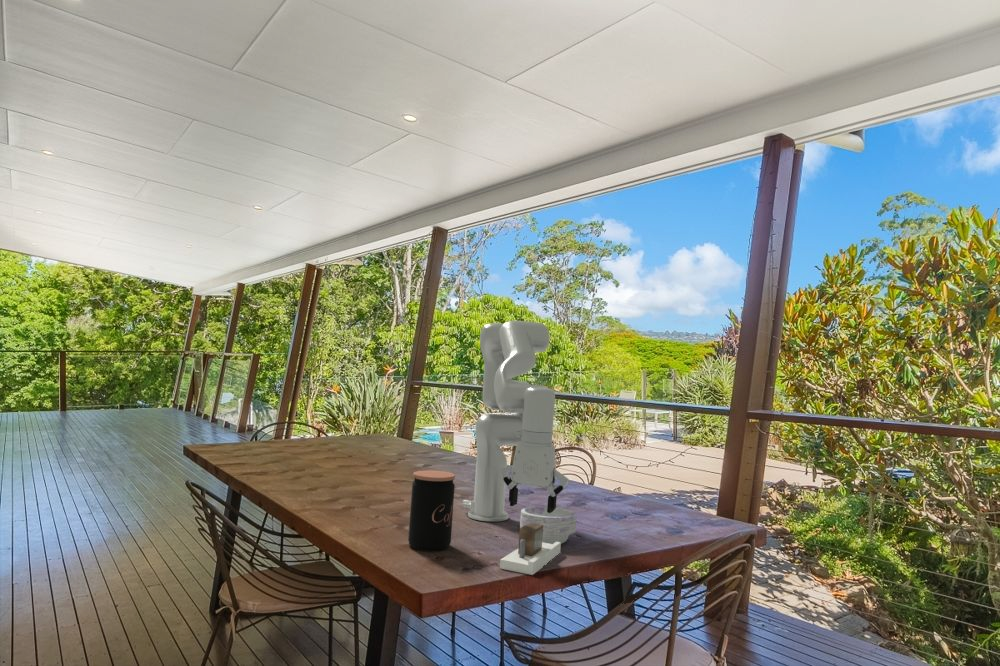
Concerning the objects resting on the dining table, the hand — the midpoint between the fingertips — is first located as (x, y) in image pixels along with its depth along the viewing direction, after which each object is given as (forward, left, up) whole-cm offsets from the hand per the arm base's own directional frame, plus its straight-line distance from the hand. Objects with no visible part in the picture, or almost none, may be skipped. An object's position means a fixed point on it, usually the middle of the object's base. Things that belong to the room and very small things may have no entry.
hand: (531, 508), depth 151 cm
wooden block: (0, -1, -10) cm, 10 cm away
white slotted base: (+1, -1, -12) cm, 12 cm away
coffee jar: (-25, -5, -12) cm, 28 cm away
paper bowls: (-2, +19, -12) cm, 23 cm away
